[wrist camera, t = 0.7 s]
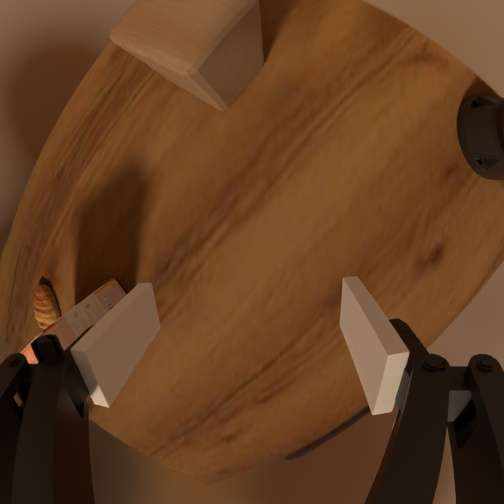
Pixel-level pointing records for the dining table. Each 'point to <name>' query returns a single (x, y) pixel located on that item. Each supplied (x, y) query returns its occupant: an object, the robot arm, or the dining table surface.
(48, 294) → the pastry
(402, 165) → the dining table surface
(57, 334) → the cracker box
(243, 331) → the dining table surface
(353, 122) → the dining table surface
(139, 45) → the wooden block
